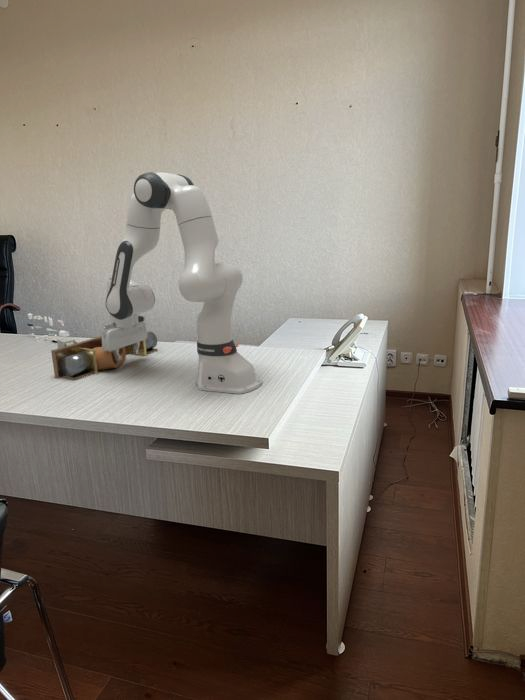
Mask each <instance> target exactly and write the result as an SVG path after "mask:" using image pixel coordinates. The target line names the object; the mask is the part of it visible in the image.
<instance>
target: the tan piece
mask: <svg viewBox="0 0 525 700" xmlns="http://www.w3.org/2000/svg"><path fill="white" fill-rule="evenodd" d="M93 349H94V350H95V353H96V361H97V370H98V371H103V370H110V369H116V368H118V367H119V366H120V365H122V364H123V363H124V362H125V361H126V357H127V355H126V352H125V347H122V348H119V352H118V353H119V355H122V360H120V361H116V358H115V355H114V354H113V353H112V351H104V350H103V348H102V347H97V348H93Z"/></svg>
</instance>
